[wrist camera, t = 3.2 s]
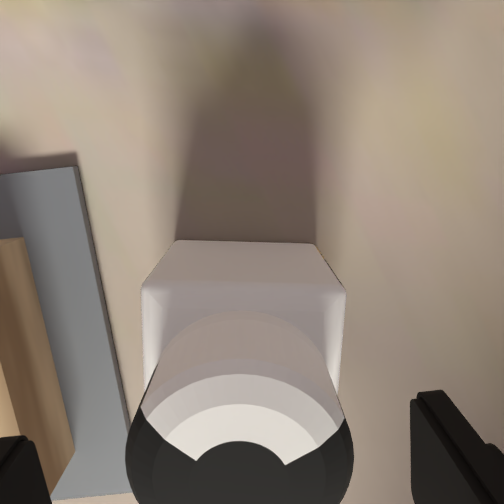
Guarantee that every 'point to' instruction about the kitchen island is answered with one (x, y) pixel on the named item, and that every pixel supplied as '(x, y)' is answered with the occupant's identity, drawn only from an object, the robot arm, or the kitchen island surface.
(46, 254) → the grey square mat
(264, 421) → the medicine bottle
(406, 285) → the kitchen island surface
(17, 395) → the oak block
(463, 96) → the kitchen island surface
